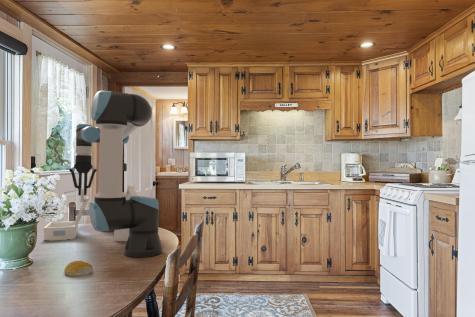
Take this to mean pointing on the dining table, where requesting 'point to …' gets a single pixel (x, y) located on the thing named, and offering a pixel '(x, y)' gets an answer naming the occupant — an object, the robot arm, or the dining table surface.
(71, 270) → the bread roll
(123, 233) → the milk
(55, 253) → the dining table surface
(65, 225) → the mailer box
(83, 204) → the lid
